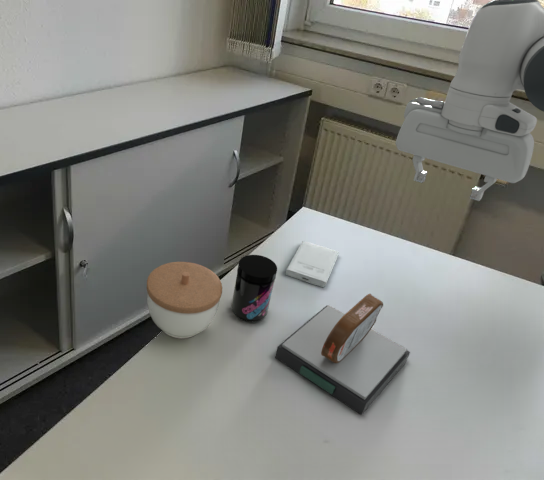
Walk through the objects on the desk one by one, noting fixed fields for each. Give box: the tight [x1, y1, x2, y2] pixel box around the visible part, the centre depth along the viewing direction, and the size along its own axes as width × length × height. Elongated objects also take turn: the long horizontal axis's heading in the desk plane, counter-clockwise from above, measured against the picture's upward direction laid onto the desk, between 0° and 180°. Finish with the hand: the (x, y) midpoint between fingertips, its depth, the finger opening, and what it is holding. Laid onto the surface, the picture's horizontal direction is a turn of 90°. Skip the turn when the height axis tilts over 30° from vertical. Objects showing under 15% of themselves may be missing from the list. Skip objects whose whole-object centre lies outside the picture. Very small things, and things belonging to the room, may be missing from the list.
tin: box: [321, 293, 384, 363], centre depth 87 cm, size 15×3×8 cm, turn 137°
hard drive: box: [285, 240, 340, 288], centre depth 113 cm, size 2×8×12 cm
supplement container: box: [230, 254, 278, 323], centre depth 96 cm, size 7×7×10 cm
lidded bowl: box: [146, 261, 223, 340], centre depth 92 cm, size 13×13×11 cm
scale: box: [274, 304, 411, 415], centre depth 90 cm, size 16×16×3 cm
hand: (446, 189), depth 92 cm, fingers open, 8 cm apart
